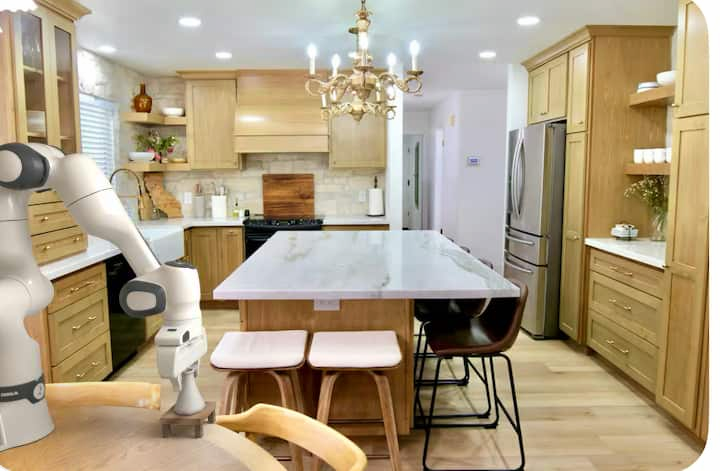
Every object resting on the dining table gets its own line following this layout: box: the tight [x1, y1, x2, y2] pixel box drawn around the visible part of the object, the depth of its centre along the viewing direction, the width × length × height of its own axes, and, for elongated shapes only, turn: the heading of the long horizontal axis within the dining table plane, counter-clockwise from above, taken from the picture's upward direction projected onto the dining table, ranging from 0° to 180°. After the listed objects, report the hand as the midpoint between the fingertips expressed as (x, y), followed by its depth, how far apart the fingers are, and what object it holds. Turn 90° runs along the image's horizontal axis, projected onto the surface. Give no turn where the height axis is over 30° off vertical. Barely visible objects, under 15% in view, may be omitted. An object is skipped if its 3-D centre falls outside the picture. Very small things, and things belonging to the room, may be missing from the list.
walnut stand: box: [159, 400, 217, 439], centre depth 135 cm, size 10×10×5 cm
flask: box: [173, 367, 206, 415], centre depth 134 cm, size 7×7×10 cm
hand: (186, 383), depth 134 cm, fingers open, 8 cm apart
